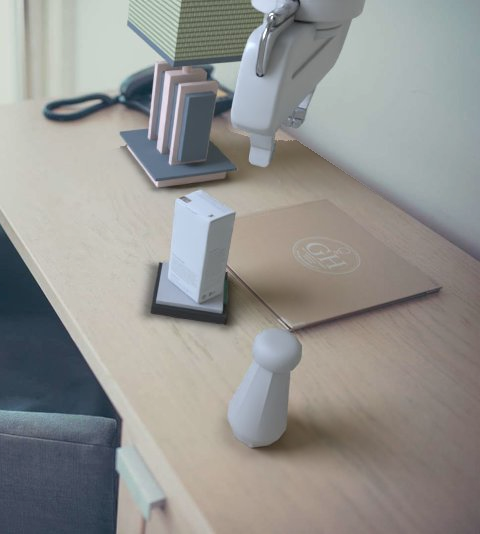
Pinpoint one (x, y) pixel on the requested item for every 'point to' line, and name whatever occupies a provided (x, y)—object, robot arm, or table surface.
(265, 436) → the salt shaker
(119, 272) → the table surface
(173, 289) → the scale
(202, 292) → the cosmetic box
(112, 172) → the table surface
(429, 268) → the table surface
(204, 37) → the desk lamp
